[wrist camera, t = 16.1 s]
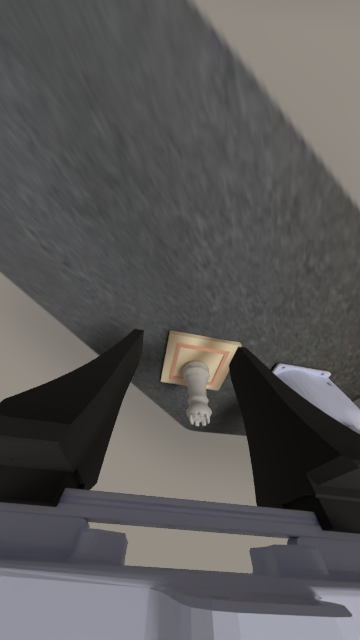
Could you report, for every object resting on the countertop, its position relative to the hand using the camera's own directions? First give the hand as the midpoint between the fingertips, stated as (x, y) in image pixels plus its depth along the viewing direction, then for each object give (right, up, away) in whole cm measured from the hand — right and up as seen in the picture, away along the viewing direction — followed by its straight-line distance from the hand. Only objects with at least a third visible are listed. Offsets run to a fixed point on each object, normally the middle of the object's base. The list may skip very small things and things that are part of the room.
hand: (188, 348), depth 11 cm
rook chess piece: (+2, -6, +14) cm, 15 cm away
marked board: (+2, -5, +14) cm, 15 cm away
